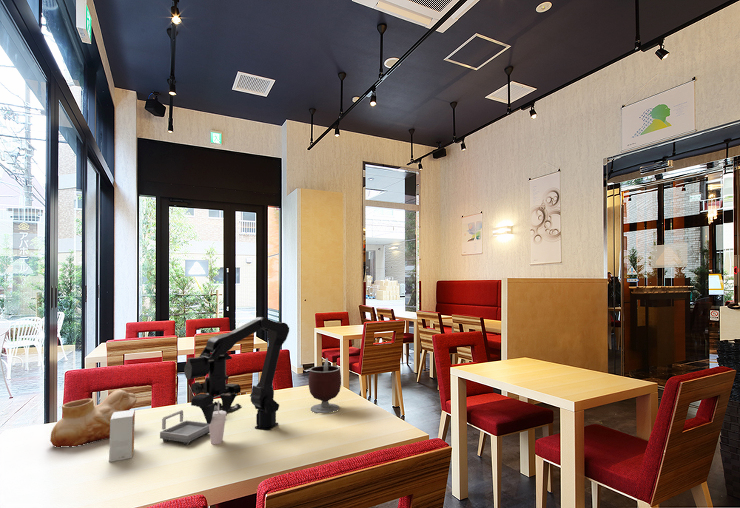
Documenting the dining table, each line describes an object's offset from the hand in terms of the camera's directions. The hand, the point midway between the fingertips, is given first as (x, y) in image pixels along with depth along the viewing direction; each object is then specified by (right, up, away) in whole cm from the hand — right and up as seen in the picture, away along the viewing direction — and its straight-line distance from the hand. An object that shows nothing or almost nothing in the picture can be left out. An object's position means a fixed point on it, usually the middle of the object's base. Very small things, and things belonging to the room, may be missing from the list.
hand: (216, 419), depth 141 cm
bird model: (-10, -10, +33) cm, 35 cm away
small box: (-27, -8, -10) cm, 29 cm away
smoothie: (0, -8, 0) cm, 8 cm away
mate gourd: (+34, -9, +34) cm, 49 cm away
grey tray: (-12, -8, +4) cm, 15 cm away
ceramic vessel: (-46, -9, +6) cm, 48 cm away
